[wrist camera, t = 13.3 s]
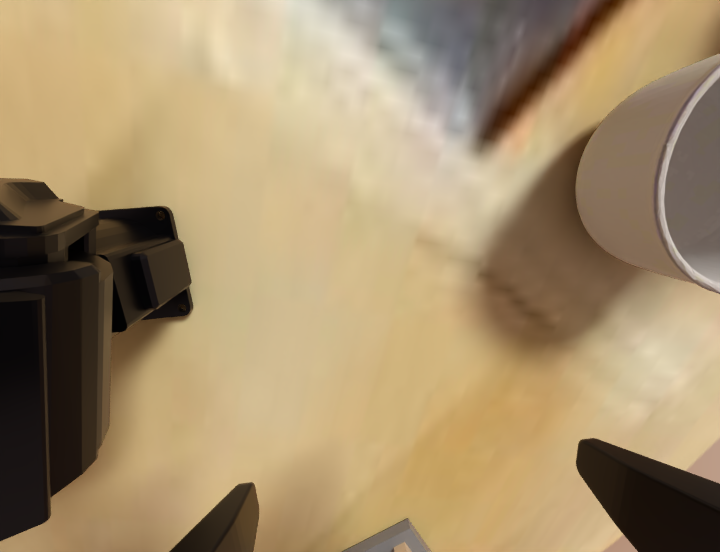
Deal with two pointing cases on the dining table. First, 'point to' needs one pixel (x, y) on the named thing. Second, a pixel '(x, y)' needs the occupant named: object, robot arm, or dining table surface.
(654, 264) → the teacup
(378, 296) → the dining table surface
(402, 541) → the grey stand base
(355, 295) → the dining table surface
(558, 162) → the dining table surface
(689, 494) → the robot arm
